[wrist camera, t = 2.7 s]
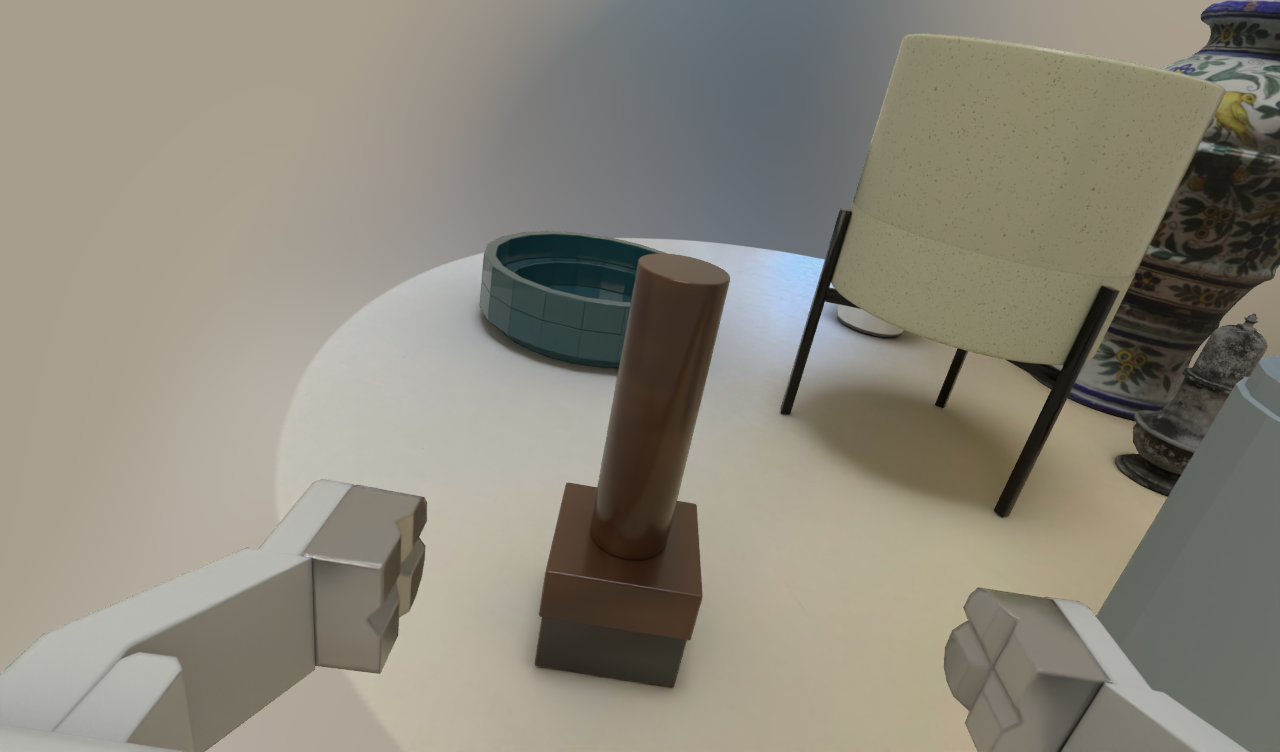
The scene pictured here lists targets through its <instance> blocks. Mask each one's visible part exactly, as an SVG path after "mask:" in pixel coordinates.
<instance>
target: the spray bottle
mask: <svg viewBox="0 0 1280 752" xmlns="http://www.w3.org/2000/svg"><path fill="white" fill-rule="evenodd" d="M1096 617H1097V619H1098V620H1099V621H1100V622H1101V624H1102V625H1103V626H1104V628H1105V629H1106V630H1107V632H1108V633H1109V634H1110V635H1111V637H1112V638H1113V639H1114V641H1115V642H1116V643H1117V645H1118V646H1119V647H1120V649H1121V650H1122V651H1123V652H1124V654H1125V655H1126V656H1127V658H1128V659H1129V660H1130V662H1131V663H1132V664H1133V666H1134V667H1135V668H1136V669H1137V671H1138V672H1139V673H1140V675H1141V676H1142V677H1143V679H1144V680H1145V681H1146V683H1147V684H1148V685H1149V686H1150V688H1151V689H1152V690H1154V691H1160V692H1164V693H1165V694H1167V695H1168V696H1170V697H1171V698H1172V699H1174V700H1175V701H1177V702H1178V703H1180V704H1181V705H1183V706H1184V707H1185V708H1187V709H1188V710H1190V711H1191V712H1193V713H1194V714H1195V715H1197V716H1198V717H1200V718H1201V719H1203V720H1204V721H1206V722H1207V723H1208V724H1210V725H1211V726H1213V727H1214V728H1216V729H1217V730H1219V731H1220V732H1221V733H1223V734H1224V735H1226V736H1227V737H1229V738H1230V739H1232V740H1233V741H1234V742H1236V743H1237V744H1239V745H1240V746H1242V747H1243V748H1244V749H1246V750H1247V751H1249V752H1280V357H1265V358H1263V359H1262V360H1261V361H1259V362H1258V363H1257V365H1256V367H1255V368H1254V370H1253V372H1252V373H1251V375H1250V377H1244V378H1243V379H1242V380H1240V381H1239V382H1238V383H1236V385H1235V386H1234V388H1233V390H1232V391H1231V393H1230V395H1229V396H1228V398H1227V400H1226V401H1225V403H1224V405H1223V406H1222V408H1221V410H1220V411H1219V413H1218V415H1217V416H1216V418H1215V420H1214V421H1213V423H1212V425H1211V426H1210V428H1209V430H1208V431H1207V433H1206V434H1205V436H1204V438H1203V439H1202V441H1201V443H1200V444H1199V446H1198V448H1197V449H1196V451H1195V453H1194V454H1193V456H1192V458H1191V459H1190V461H1189V463H1188V464H1187V466H1186V468H1185V469H1184V471H1183V473H1182V474H1181V476H1180V478H1179V479H1178V481H1177V483H1176V484H1175V486H1174V488H1173V489H1172V491H1171V493H1170V494H1169V496H1168V498H1167V499H1166V501H1165V503H1164V504H1163V506H1162V508H1161V509H1160V511H1159V513H1158V514H1157V516H1156V518H1155V519H1154V521H1153V523H1152V524H1151V526H1150V528H1149V529H1148V531H1147V533H1146V534H1145V536H1144V538H1143V539H1142V541H1141V543H1140V544H1139V546H1138V548H1137V549H1136V551H1135V553H1134V554H1133V556H1132V558H1131V559H1130V561H1129V563H1128V564H1127V566H1126V568H1125V569H1124V571H1123V572H1122V574H1121V576H1120V577H1119V579H1118V581H1117V582H1116V584H1115V586H1114V587H1113V589H1112V591H1111V592H1110V594H1109V596H1108V597H1107V599H1106V601H1105V602H1104V604H1103V606H1102V607H1101V609H1100V611H1099V612H1098V614H1097V616H1096Z"/></svg>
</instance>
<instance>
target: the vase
mask: <svg viewBox="0 0 1280 752" xmlns="http://www.w3.org/2000/svg"><path fill="white" fill-rule="evenodd" d="M1201 20H1202V21H1203V22H1204V23H1206V24H1207V25H1209V26H1210V29H1211V36H1210V40H1209V42H1208V43H1207V45H1206V46H1205V47H1204V48H1203V49H1201V50H1200V51H1199V52H1197V53H1195V54H1194V55H1192V56H1191V57H1188V58H1185V59H1182V60H1180V61H1178V62H1175V63H1172V64H1170V65H1167V66H1165V67H1162V68H1160V69H1165V70H1169V71H1173V72H1178V73H1182V74H1186V75H1189V76H1193V77H1197V78H1200V79H1204V80H1207V81H1210V82H1213V83H1215V84H1218V85H1220V86H1222V87H1223V88H1224V89H1225V90H1226V93H1225V95H1224V97H1223V99H1222V101H1221V103H1220V105H1219V107H1218V109H1217V111H1216V113H1215V115H1214V117H1213V119H1212V121H1211V123H1210V125H1209V127H1208V129H1207V131H1206V133H1205V135H1204V137H1203V139H1202V141H1201V143H1200V145H1199V147H1198V149H1197V151H1196V153H1195V155H1194V157H1193V159H1192V161H1191V163H1190V165H1189V167H1188V169H1187V171H1186V173H1185V175H1184V177H1183V179H1182V181H1181V183H1180V185H1179V187H1178V189H1177V191H1176V193H1175V195H1174V197H1173V199H1172V201H1171V203H1170V205H1169V207H1168V209H1167V211H1166V213H1165V215H1164V217H1163V219H1162V221H1161V223H1160V225H1159V227H1158V229H1157V231H1156V233H1155V235H1154V237H1153V239H1152V241H1151V243H1150V245H1149V247H1148V249H1147V251H1146V253H1145V255H1144V258H1143V260H1142V262H1141V264H1140V266H1139V268H1138V270H1137V272H1136V274H1135V276H1134V278H1133V280H1132V282H1131V284H1130V286H1129V288H1128V290H1127V292H1126V294H1125V296H1124V298H1123V300H1122V302H1121V304H1120V306H1119V308H1118V310H1117V312H1116V314H1115V316H1114V318H1113V320H1112V322H1111V324H1110V326H1109V328H1108V330H1107V332H1106V334H1105V336H1104V338H1103V340H1102V342H1101V344H1100V346H1099V348H1098V350H1097V352H1096V354H1095V355H1094V357H1093V358H1091V359H1090V360H1088V361H1086V362H1085V363H1084V365H1083V367H1082V369H1081V371H1080V373H1079V375H1078V377H1077V379H1076V381H1075V383H1074V385H1073V387H1072V389H1071V391H1070V393H1069V395H1068V398H1070V399H1072V400H1074V401H1076V402H1079V403H1081V404H1083V405H1086V406H1088V407H1091V408H1094V409H1097V410H1099V411H1102V412H1106V413H1109V414H1112V415H1115V416H1119V417H1123V418H1127V419H1131V420H1134V414H1135V413H1136V412H1138V411H1143V410H1149V411H1159V410H1162V409H1163V408H1164V407H1165V406H1166V405H1167V404H1168V403H1169V402H1170V401H1171V400H1172V399H1173V398H1174V396H1175V395H1176V393H1177V391H1178V389H1179V387H1180V386H1181V384H1182V382H1183V380H1184V379H1185V375H1184V374H1183V373H1182V371H1183V370H1184V369H1186V368H1188V367H1189V363H1190V361H1191V359H1192V356H1193V355H1194V353H1195V352H1196V351H1197V349H1198V348H1199V347H1200V345H1201V344H1202V343H1203V342H1204V341H1205V340H1206V339H1207V338H1208V337H1209V336H1210V335H1211V334H1212V333H1213V332H1214V331H1215V330H1216V329H1218V326H1219V323H1220V321H1221V319H1222V318H1223V316H1224V315H1225V314H1226V313H1227V312H1228V311H1229V310H1230V309H1231V308H1232V307H1233V306H1234V305H1235V304H1236V303H1237V302H1238V301H1239V300H1240V299H1241V298H1242V297H1244V296H1245V295H1246V294H1247V293H1248V292H1249V291H1250V290H1251V289H1253V288H1254V287H1255V286H1257V285H1259V284H1261V283H1262V282H1264V281H1268V280H1271V279H1273V278H1274V276H1275V272H1276V269H1277V267H1278V266H1279V265H1280V1H1278V0H1227V1H1220V2H1216V3H1214V4H1213V5H1211V6H1209V7H1208V8H1207V9H1206V10H1205V11H1203V13H1202V14H1201ZM1052 366H1053V367H1055V368H1057V369H1059V370H1061V369H1062V367H1063V365H1052ZM1031 375H1032V374H1031ZM1032 376H1033V375H1032ZM1033 377H1035V376H1033ZM1035 378H1036V379H1037V380H1039V381H1040V382H1041V383H1043V384H1044V385H1046V386H1048V387H1049V388H1051V389H1052V388H1053V386H1051V385H1049V384H1047V383H1046V382H1044V381H1042V380H1040V379H1039V378H1037V377H1035Z"/></svg>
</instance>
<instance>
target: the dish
mask: <svg viewBox="0 0 1280 752" xmlns="http://www.w3.org/2000/svg"><path fill="white" fill-rule="evenodd" d="M649 254H667V253H665V252H661V251H658V250H655V249H652V248H649V247H646V246H643V245H640V244H636V243H632V242H627V241H623V240H619V239H614V238H609V237H603V236H595V235H589V234H583V233H571V232H555V231H543V232H542V231H540V232H523V233H518V234H513V235H507V236H502V237H500V238H498V239H496V240H494V241H492V242H490V243H489V244H487V247H486V250H485V253H484V260H483V272H482V284H481V296H480V308H481V309H482V311H483V313H484V315H485V316H486V318H487V320H488V321H490V322H491V323H492V324H494V325H495V326H497V327H498V328H499V329H501V330H502V332H503V333H504V334H506V335H507V336H508V337H509V338H511V339H512V340H514V341H515V342H517V343H518V344H520V345H522V346H524V347H526V348H528V349H530V350H533V351H535V352H537V353H540V354H543V355H546V356H549V357H552V358H556V359H559V360H563V361H568V362H572V363H577V364H583V365H590V366H599V367H615V368H618V367H619V364H620V359H621V353H622V348H623V342H624V337H625V331H626V325H627V320H628V314H629V309H630V303H631V298H632V292H633V287H634V281H635V275H636V270H637V264H638V260H639V259H640V258H641V257H642V256H645V255H649Z"/></svg>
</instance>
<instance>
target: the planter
mask: <svg viewBox="0 0 1280 752" xmlns="http://www.w3.org/2000/svg"><path fill="white" fill-rule="evenodd" d="M1225 93H1226V90H1225V89H1224V88H1223V87H1222V86H1220V85H1218V84H1215V83H1213V82H1210V81H1207V80H1204V79H1200V78H1197V77H1193V76H1189V75H1186V74H1182V73H1178V72H1173V71H1169V70H1165V69H1160V68H1156V67H1151V66H1146V65H1141V64H1136V63H1131V62H1126V61H1121V60H1116V59H1110V58H1105V57H1099V56H1094V55H1088V54H1082V53H1076V52H1071V51H1065V50H1059V49H1052V48H1046V47H1039V46H1033V45H1026V44H1019V43H1012V42H1005V41H997V40H989V39H981V38H972V37H963V36H952V35H940V34H910V35H906V36H904V38H903V40H902V43H901V46H900V49H899V52H898V56H897V59H896V62H895V65H894V69H893V72H892V75H891V79H890V82H889V85H888V89H887V92H886V95H885V98H884V102H883V105H882V108H881V111H880V114H879V118H878V121H877V125H876V128H875V131H874V134H873V137H872V141H871V144H870V148H869V150H868V154H867V157H866V160H865V164H864V167H863V170H862V173H861V177H860V180H859V183H858V187H857V190H856V193H855V196H854V200H853V203H852V206H851V209H850V210H848V209H840V211H839V215H838V218H837V221H836V225H835V228H834V232H833V235H832V238H831V242H830V245H829V249H828V251H827V255H826V258H825V262H824V265H823V268H822V272H821V275H820V278H819V282H818V285H817V288H816V292H815V295H814V298H813V302H812V305H811V308H810V312H809V315H808V318H807V322H806V325H805V328H804V332H803V335H802V338H801V342H800V345H799V349H798V352H797V355H796V359H795V362H794V365H793V369H792V372H791V375H790V379H789V382H788V385H787V389H786V392H785V395H784V399H783V402H782V405H781V413H783V414H790V413H791V410H792V407H793V403H794V400H795V397H796V394H797V390H798V387H799V384H800V381H801V377H802V374H803V371H804V368H805V364H806V361H807V358H808V355H809V351H810V348H811V345H812V342H813V338H814V335H815V332H816V329H817V325H818V322H819V319H820V315H821V312H822V309H823V306H824V302H830V303H835V304H839V305H844V306H849V307H853V308H858V309H863V310H864V311H866V312H868V313H870V314H871V315H873V316H875V317H877V318H879V319H881V320H883V321H885V322H887V323H889V324H892V325H894V326H896V327H899V328H901V329H903V330H906V331H908V332H911V333H913V334H916V335H919V336H921V337H924V338H927V339H930V340H933V341H936V342H939V343H942V344H945V345H948V346H952V347H955V348H958V349H957V351H956V354H955V356H954V359H953V361H952V364H951V366H950V369H949V371H948V374H947V376H946V378H945V381H944V383H943V386H942V388H941V391H940V393H939V396H938V398H937V401H936V403H935V405H936V406H938V407H941V408H944V407H945V406H946V404H947V401H948V399H949V397H950V394H951V392H952V389H953V387H954V384H955V382H956V380H957V377H958V375H959V372H960V370H961V368H962V365H963V363H964V360H965V358H966V355H967V353H968V351H970V352H974V353H978V354H982V355H986V356H991V357H996V358H1001V359H1005V360H1007V361H1009V362H1011V363H1012V364H1014V365H1016V366H1018V367H1019V368H1021V369H1023V370H1025V371H1026V372H1028V373H1030V374H1032V375H1033V376H1035V377H1037V378H1039V379H1040V380H1042V381H1044V382H1046V383H1047V384H1049V385H1051V386H1053V388H1052V390H1051V392H1050V394H1049V396H1048V398H1047V400H1046V403H1045V405H1044V407H1043V409H1042V411H1041V413H1040V415H1039V417H1038V419H1037V421H1036V423H1035V425H1034V428H1033V430H1032V432H1031V434H1030V436H1029V438H1028V440H1027V442H1026V444H1025V446H1024V448H1023V450H1022V453H1021V455H1020V457H1019V459H1018V461H1017V463H1016V465H1015V467H1014V469H1013V471H1012V473H1011V475H1010V477H1009V480H1008V482H1007V484H1006V486H1005V488H1004V490H1003V492H1002V494H1001V496H1000V498H999V500H998V502H997V505H996V507H995V509H994V511H995V512H996V513H997V514H998V515H1000V516H1001V517H1007V516H1009V515H1010V513H1011V511H1012V509H1013V507H1014V505H1015V503H1016V501H1017V499H1018V497H1019V495H1020V493H1021V491H1022V489H1023V487H1024V485H1025V483H1026V480H1027V478H1028V476H1029V474H1030V472H1031V470H1032V468H1033V466H1034V464H1035V462H1036V460H1037V458H1038V456H1039V454H1040V452H1041V450H1042V448H1043V446H1044V444H1045V442H1046V440H1047V438H1048V436H1049V434H1050V432H1051V430H1052V428H1053V426H1054V424H1055V422H1056V420H1057V418H1058V416H1059V414H1060V412H1061V410H1062V408H1063V406H1064V404H1065V402H1066V400H1067V398H1068V395H1069V393H1070V391H1071V389H1072V387H1073V385H1074V383H1075V381H1076V379H1077V377H1078V375H1079V373H1080V371H1081V369H1082V367H1083V365H1084V363H1085V362H1086V361H1088V360H1090V359H1091V358H1093V357H1094V355H1095V354H1096V352H1097V350H1098V348H1099V346H1100V344H1101V342H1102V340H1103V338H1104V336H1105V334H1106V332H1107V330H1108V328H1109V326H1110V324H1111V322H1112V320H1113V318H1114V316H1115V314H1116V312H1117V310H1118V308H1119V306H1120V304H1121V302H1122V300H1123V298H1124V296H1125V294H1126V292H1127V290H1128V288H1129V286H1130V284H1131V282H1132V280H1133V278H1134V276H1135V274H1136V272H1137V270H1138V268H1139V266H1140V264H1141V262H1142V260H1143V258H1144V255H1145V253H1146V251H1147V249H1148V247H1149V245H1150V243H1151V241H1152V239H1153V237H1154V235H1155V233H1156V231H1157V229H1158V227H1159V225H1160V223H1161V221H1162V219H1163V217H1164V215H1165V213H1166V211H1167V209H1168V207H1169V205H1170V203H1171V201H1172V199H1173V197H1174V195H1175V193H1176V191H1177V189H1178V187H1179V185H1180V183H1181V181H1182V179H1183V177H1184V175H1185V173H1186V171H1187V169H1188V167H1189V165H1190V163H1191V161H1192V159H1193V157H1194V155H1195V153H1196V151H1197V149H1198V147H1199V145H1200V143H1201V141H1202V139H1203V137H1204V135H1205V133H1206V131H1207V129H1208V127H1209V125H1210V123H1211V121H1212V119H1213V117H1214V115H1215V113H1216V111H1217V109H1218V107H1219V105H1220V103H1221V101H1222V99H1223V97H1224V95H1225ZM830 283H832V285H833V287H834V288H835V289H834V288H829V286H830ZM1052 365H1063V367H1062V369H1061V370H1059V369H1057V368H1055V367H1053V366H1052Z"/></svg>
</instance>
